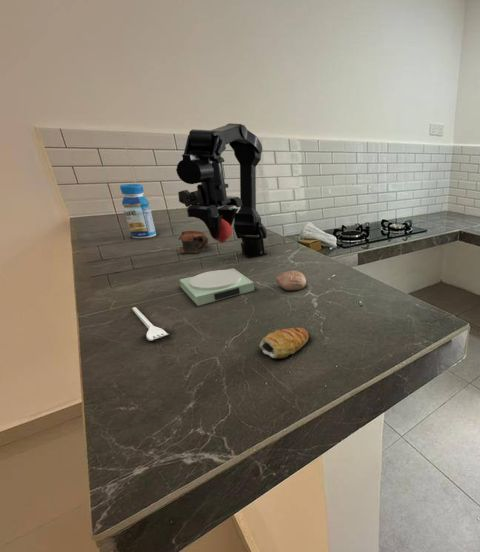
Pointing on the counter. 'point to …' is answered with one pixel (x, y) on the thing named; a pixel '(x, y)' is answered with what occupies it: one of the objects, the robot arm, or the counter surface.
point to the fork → (150, 327)
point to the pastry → (284, 342)
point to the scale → (216, 285)
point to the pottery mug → (193, 241)
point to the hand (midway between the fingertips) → (221, 236)
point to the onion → (224, 231)
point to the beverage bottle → (137, 211)
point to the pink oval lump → (291, 280)
